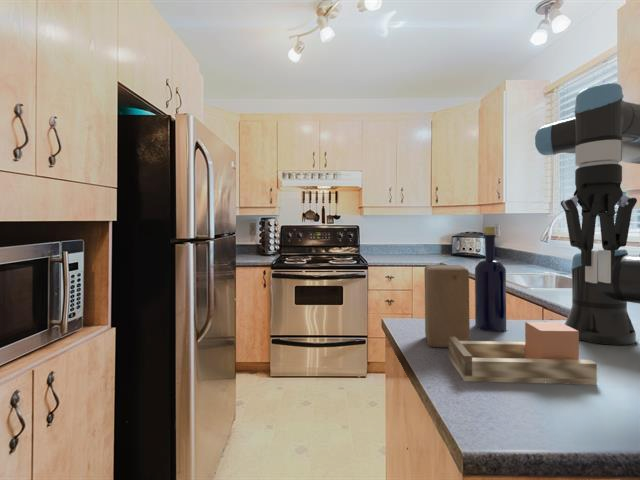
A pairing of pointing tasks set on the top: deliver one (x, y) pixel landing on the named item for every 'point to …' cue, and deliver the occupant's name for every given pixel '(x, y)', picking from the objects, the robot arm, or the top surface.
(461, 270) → the wooden block
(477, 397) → the top surface
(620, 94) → the robot arm
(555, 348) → the terracotta block
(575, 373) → the wooden tray
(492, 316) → the bottle
